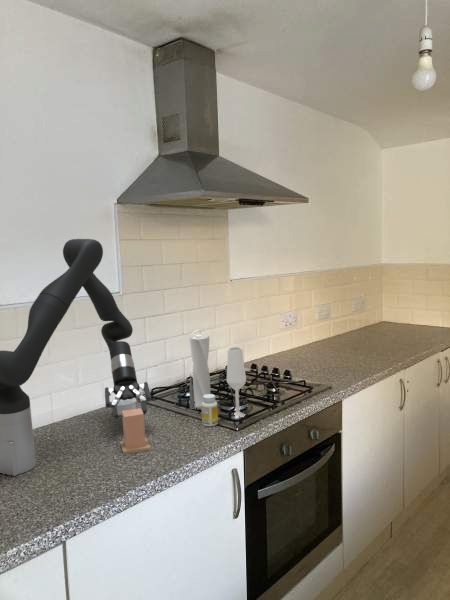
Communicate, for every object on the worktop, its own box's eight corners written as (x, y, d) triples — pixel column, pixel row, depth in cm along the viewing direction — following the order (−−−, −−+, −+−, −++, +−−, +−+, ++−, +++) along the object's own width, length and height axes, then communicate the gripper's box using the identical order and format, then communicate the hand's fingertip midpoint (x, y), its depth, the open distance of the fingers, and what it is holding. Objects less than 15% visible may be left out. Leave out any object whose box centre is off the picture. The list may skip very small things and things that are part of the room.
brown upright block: (145, 446, 148) (143, 413, 146) (126, 449, 146) (124, 416, 145) (142, 439, 153) (140, 408, 152) (124, 442, 151) (121, 410, 150)
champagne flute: (244, 421, 166) (242, 351, 163) (225, 419, 168) (222, 350, 165) (249, 414, 172) (247, 346, 169) (231, 412, 174) (228, 346, 171)
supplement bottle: (202, 427, 162) (201, 399, 161) (201, 421, 168) (200, 394, 166) (219, 426, 163) (217, 397, 162) (217, 420, 168) (216, 392, 167)
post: (150, 449, 147) (149, 424, 146) (123, 454, 144) (121, 428, 143) (146, 439, 154) (144, 415, 153) (120, 444, 152) (118, 419, 151)
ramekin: (131, 416, 175) (130, 404, 175) (108, 416, 177) (107, 404, 177) (140, 408, 184) (139, 396, 183) (118, 407, 186) (117, 396, 185)
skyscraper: (192, 401, 188) (188, 329, 184) (213, 401, 188) (209, 328, 184) (189, 409, 180) (185, 333, 176) (212, 408, 179) (208, 332, 176)
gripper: (101, 368, 159) (107, 413, 150) (145, 362, 164) (154, 406, 154) (101, 379, 165) (107, 424, 156) (144, 373, 169) (152, 417, 160)
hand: (130, 415), depth 155 cm, fingers open, 8 cm apart
